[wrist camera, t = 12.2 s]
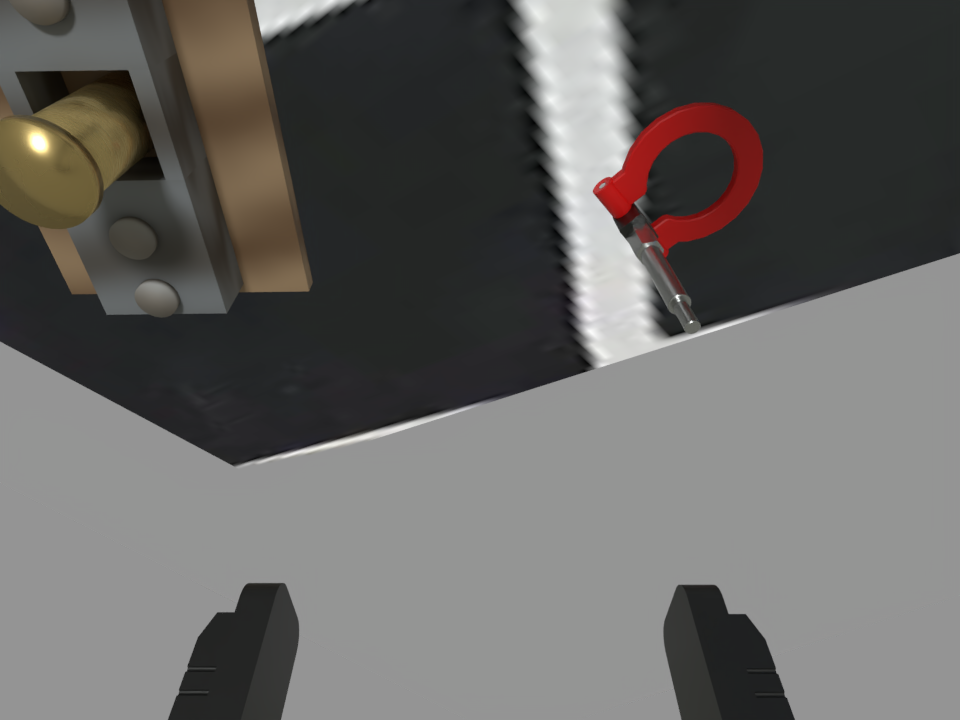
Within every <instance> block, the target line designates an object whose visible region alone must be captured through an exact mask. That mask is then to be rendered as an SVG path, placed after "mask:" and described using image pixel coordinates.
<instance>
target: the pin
mask: <svg viewBox="0 0 960 720" xmlns="http://www.w3.org/2000/svg"><path fill="white" fill-rule="evenodd" d="M153 148H154V144H153V141H152V138H151V135H150V132H149V129H148V126H147V123H146V120H145V117H144V114H143V112H142V109H141V106H140V103H139V100H138V97H137V94H136V91H135V88H134V85H133V82H132V79H131V76H130V73H129V71H126V70H118V71H113V72H110V73H108V74H106V75H104V76H102V77H100V78H99V79H97V80H95V81H93V82H91V83H90V84H88V85H86V86H84V87H82V88H80V89H79V90H77V91H75V92H73V93H71V94H70V95H68V96H66V97H64V98H62V99H61V100H59V101H57V102H55V103H53V104H51V105H50V106H48V107H46V108H44V109H42V110H41V111H39V112H37V113H35V114H33V115H31V116H29V115H12V116H8V117H5V118H2V119H0V205H2V206H3V207H4V208H5V209H7V210H8V211H9V212H11V213H12V214H14V215H15V216H17V217H19V218H21V219H22V220H25V221H27V222H29V223H31V224H34V225H37V226H40V227H44V228H50V229H67V228H72V227H75V226H77V225H79V224H81V223H83V222H84V221H85V220H86V219H87V218H88V217H90V216H91V215H92V214H93V213H94V212H95V211H96V210H97V209H98V207H99V206H100V204H101V202H102V199H103V194H104V190H105V189H106V188H108V187H109V186H110V185H111V184H112V183H113V182H115V181H116V180H117V179H118V178H119V177H120V176H122V175H123V174H124V173H125V172H126V171H127V170H129V169H130V168H131V167H132V166H133V165H134V164H136V163H137V162H138V161H139V160H140V159H141V158H143V157H144V156H145V155H146V154H147V153H148V152H150V151H151V150H152V149H153Z"/></svg>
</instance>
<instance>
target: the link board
mask: <svg viewBox="0 0 960 720" xmlns="http://www.w3.org/2000/svg"><path fill="white" fill-rule="evenodd" d="M118 70H126V71H129V73H130V76H131V79H132V82H133V85H134V88H135V91H136V94H137V97H138V100H139V103H140V106H141V109H142V112H143V114H144V117H145V120H146V123H147V126H148V129H149V132H150V135H151V138H152V141H153V144H154V148H153V149H152V150H151V151H150V152H148V153H147V154H146V155H145V156H144V157H143V158H141V159H140V160H139V161H138V162H137V163H136V164H134V165H133V166H132V167H131V168H130V169H129V170H127V171H126V172H125V173H124V174H123V175H122V176H120V177H119V178H118V179H117V180H116V181H115V182H113V183H112V184H111V185H110V186H109V187H108V188H106V189H105V190H104V194H103V199H102V202H101V204H100V206H99V207H98V209H97V210H96V211H95V212H94V213H93V214H92V215H91V216H90V217H88V218H87V219H86V220H85V221H84V222H83V223H81V224H79V225H77V226H75V227H72V228H67V229H50V228H44V227H40V226H38V227H39V229H40V231H41V233H42V235H43V237H44V239H45V241H46V243H47V245H48V247H49V249H50V251H51V253H52V255H53V257H54V259H55V261H56V263H57V265H58V267H59V269H60V271H61V273H62V275H63V277H64V279H65V281H66V283H67V285H68V287H69V289H70V291H71V293H72V294H97V295H98V297H99V299H100V301H101V303H102V306H103V308H104V310H105V312H106V314H107V315H131V314H149V315H152V316H155V317H161V318H163V317H168V316H171V315H172V314H214V313H227V312H228V311H229V309H230V307H231V305H232V304H233V302H234V300H235V298H236V296H237V295H238V293H239V292H303V291H309V290H310V288H311V285H312V283H313V280H312V276H311V271H310V266H309V261H308V256H307V252H306V247H305V242H304V237H303V232H302V228H301V223H300V218H299V213H298V208H297V204H296V199H295V194H294V189H293V184H292V180H291V175H290V170H289V165H288V160H287V156H286V151H285V146H284V141H283V136H282V132H281V127H280V122H279V117H278V112H277V108H276V103H275V98H274V93H273V88H272V84H271V79H270V74H269V69H268V64H267V60H266V55H265V50H264V45H263V40H262V36H261V31H260V26H259V21H258V16H257V12H256V7H255V2H254V0H0V119H2V118H5V117H8V116H12V115H29V116H31V115H33V114H35V113H37V112H39V111H41V110H42V109H44V108H46V107H48V106H50V105H51V104H53V103H55V102H57V101H59V100H61V99H62V98H64V97H66V96H68V95H70V94H71V93H73V92H75V91H77V90H79V89H80V88H82V87H84V86H86V85H88V84H90V83H91V82H93V81H95V80H97V79H99V78H100V77H102V76H104V75H106V74H108V73H110V72H113V71H118Z"/></svg>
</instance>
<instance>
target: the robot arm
mask: <svg viewBox="0 0 960 720" xmlns="http://www.w3.org/2000/svg"><path fill="white" fill-rule="evenodd" d="M663 637H664V646H665V652H666V656H667V661H668V665H669V669H670V673H671V678H672V682H673V686H674V690H675V694H676V699H677V703H678V707H679V712H680V716H681V720H795V718H794V715H793V713H792V710H791V707H790V705H789V702H788V699H787V698H786V697H785V694H784V693H785V691H784V689H783V686H782V683H781V680H780V677H779V675H778V674H777V673H776V667H775V664H774V661H773V658H772V656H771V653H770V650H769V648H768V645H767V642H766V639H765V638H764V637H763V635H762V634H761V633H760V632H759V630H758V629H757V628H756V626H755V625H754V624H753V623H752V621H751V620H750V619H749V617H748V616H747V615H746V614H729V613H728V610H727V607H726V604H725V601H724V598H723V596H722V593H721V591H720V589H719V588H718V587H717V586H716V585H678V586H677V587H676V590H675V592H674V595H673V598H672V601H671V604H670V606H669V609H668V612H667V615H666V618H665V621H664V627H663ZM298 642H299V621H298V617H297V614H296V611H295V608H294V606H293V603H292V600H291V597H290V594H289V591H288V589H287V586H286V584H285V583H247V584H246V585H245V586H244V588H243V590H242V592H241V594H240V597H239V600H238V603H237V606H236V609H235V612H217V613H216V615H215V616H214V617H213V618H212V620H211V621H210V622H209V624H208V625H207V626H206V627H205V629H204V630H203V631H202V633H201V634H200V635H199V636H198V638H197V641H196V644H195V647H194V649H193V652H192V655H191V657H190V660H189V663H188V666H187V667H188V669H187V671H186V672H185V674H184V677H183V680H182V682H181V685H180V688H179V694H178V696H176V698H175V701H174V704H173V707H172V709H171V712H170V715H169V718H168V720H281V718H282V713H283V709H284V705H285V700H286V696H287V692H288V688H289V683H290V679H291V675H292V670H293V666H294V662H295V658H296V653H297V648H298Z"/></svg>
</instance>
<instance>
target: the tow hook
mask: <svg viewBox="0 0 960 720" xmlns="http://www.w3.org/2000/svg"><path fill="white" fill-rule="evenodd" d="M695 132H709V133H712V134H716V135H719V136H720V137H722V138H723V139H725V140H726V141H727V143H728V144H729V145H730V147H731V150H732V153H733V156H734V170H733V174H732V178H731V181H730V183H729V185H728V187H727V189H726V191H725V192H724V193H723V194H722V195H721V197H720V198H719V199H718V200H717V201H716V202H715V203H713V204H712V205H711V206H710V207H708V208H707V209H705V210H703V211H701V212H699V213H696V214H693V215H689V216H671V215H667V214H666V215H662V216H661V217H660V218H658V219H657V220H656V221H654V222H653V223H652V224H651V223H650V222H649V221H648V220H647V218H646V217H645V216H644V215H643V213H642V212H641V211H640V210H639V208H638V207H637V206H636V205H635V203H634V202H636V201H637V200H638V199H639V198H641V197H642V196H643V195H645V193H646V191H647V179H648V173H649V171H650V169H651V166H652V164H653V162H654V160H655V159H656V158H657V156H658V155H659V154H660V152H661V151H662V150H663V149H664V148H665V147H667V146H668V145H669V144H670V143H671V142H673V141H675V140H676V139H678V138H680V137H682V136H684V135H688V134H692V133H695ZM762 170H763V149H762V145H761V142H760V139H759V135H758V133H757V132H756V130H755V129H754V127H753V126H752V125H751V123H750V122H749V120H747V119H746V118H745V117H743V116H742V115H740V114H739V113H737V112H736V111H735V110H733V109H732V108H730V107H727V106H723V105H720V104H717V103H692V104H688V105H684V106H681V107H677V108H674V109H672V110H671V111H669V112H667V113H665V114H664V115H662V116H660V117H658V118H657V119H655V120H654V121H653V122H652V123H651V124H650V125H649V126H648V127H646V128H645V129H644V130H643V131H642V132H641V133H640V135H639V136H638V137H637V139H636V140H635V142H634V143H633V145H632V146H631V147H630V149H629V151H628V154H627V156H626V159H625V161H624V163H623V166H622V169H621V170H620V171H619V172H617V173H616V174H615V175H614V176H613V177H606V178H604V179H602V180H601V181H600V182H598V183H597V185H596V186H595V187H594V189H593V194H594V195H595V196H596V197H597V198H598V200H599V201H600V202H601V203H602V204H603V206H604V207H605V208H606V209H607V210H608V212H609V213H610V214H611V215H612V216H613V220H614V222H615V224H616V226H617V228H618V230H619V232H620V233H621V234H622V235H623V237H624V238H625V239H626V240H627V241H628V243H629V244H630V246H631V248H632V250H633V252H634V254H635V256H636V257H637V258H638V260H639V261H640V262H641V263H642V264H643V265H645V267H646V269H647V271H648V273H649V274H650V276H651V278H652V280H653V282H654V284H655V286H656V287H657V289H658V291H659V293H660V295H661V297H662V299H663V300H664V302H665V304H666V306H667V308H668V310H669V311H670V312H671V313H673V314H676V316H677V317H678V319H679V321H680V323H681V325H682V326H683V328H684V330H685V332H686V333H688V334H694V333H696V332H698V331H699V329H700V327H701V325H700V323H699V321H698V319H697V318H696V316H695V314H694V312H693V311H692V309H691V307H690V306H691V299H690V297H689V296H688V294H687V292H686V291H685V289H684V287H683V286H682V284H681V282H680V281H679V279H678V278H677V276H676V274H675V273H674V271H673V269H672V268H671V266H670V264H669V263H668V261H667V259H666V257H667V255H668V253H669V248H671V247H672V246H673V245H675V244H676V243H678V242H688V241H692V240H696V239H700V238H704V237H706V236H708V235H710V234H712V233H714V232H716V231H718V230H720V229H722V228H723V227H724V226H726V225H727V224H728V223H730V222H731V221H732V220H733V219H735V218H736V217H737V216H738V215H739V214H740V212H741V211H742V210H743V209H744V208H745V207H746V205H747V204H748V203H749V201H750V200H751V198H752V196H753V194H754V192H755V190H756V189H757V187H758V184H759V180H760V177H761V173H762Z"/></svg>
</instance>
